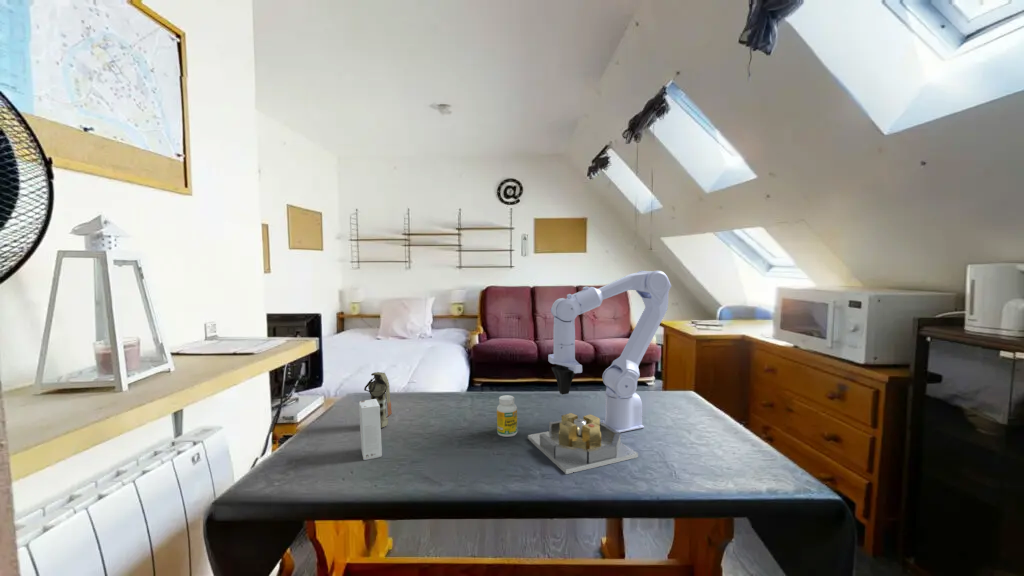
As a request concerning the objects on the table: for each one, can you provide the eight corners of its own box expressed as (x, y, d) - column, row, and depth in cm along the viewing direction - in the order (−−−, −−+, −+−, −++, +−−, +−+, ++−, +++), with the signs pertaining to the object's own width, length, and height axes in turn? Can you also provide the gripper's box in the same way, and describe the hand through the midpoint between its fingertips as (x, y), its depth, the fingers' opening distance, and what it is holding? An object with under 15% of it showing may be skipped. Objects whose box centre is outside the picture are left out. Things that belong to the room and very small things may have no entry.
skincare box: (382, 457, 91) (381, 405, 91) (362, 461, 89) (360, 408, 89) (379, 446, 97) (378, 397, 96) (359, 450, 95) (358, 400, 94)
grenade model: (360, 431, 106) (359, 376, 105) (378, 421, 112) (377, 370, 112) (380, 434, 104) (378, 378, 103) (397, 425, 110) (396, 372, 109)
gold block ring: (550, 439, 97) (550, 417, 97) (581, 430, 102) (581, 409, 102) (578, 455, 89) (578, 431, 88) (609, 444, 94) (610, 421, 94)
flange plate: (590, 427, 108) (590, 403, 108) (637, 457, 90) (638, 429, 90) (527, 438, 101) (527, 413, 100) (566, 474, 83) (566, 443, 83)
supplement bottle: (510, 427, 108) (509, 393, 108) (521, 434, 104) (521, 398, 103) (493, 432, 105) (492, 396, 105) (504, 439, 101) (503, 402, 100)
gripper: (538, 340, 111) (538, 387, 111) (565, 349, 97) (564, 403, 98) (560, 338, 113) (560, 384, 114) (589, 347, 100) (588, 399, 100)
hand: (564, 393), depth 106 cm, fingers closed
